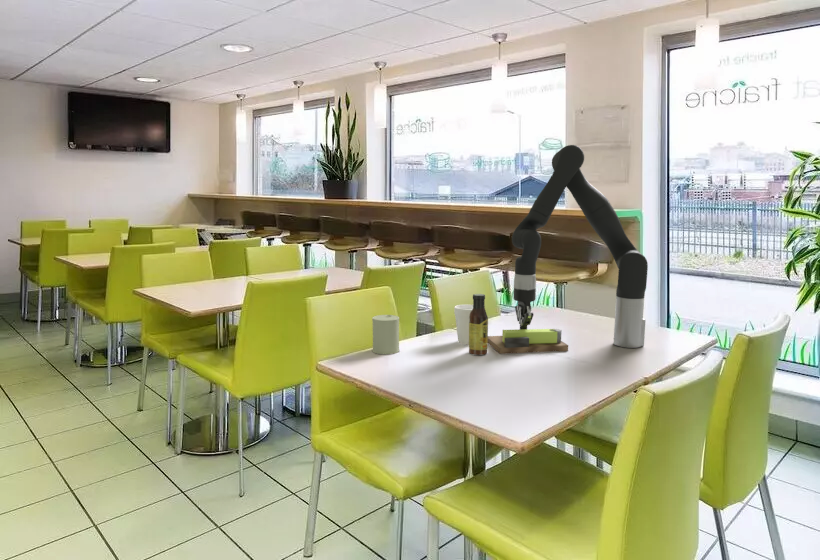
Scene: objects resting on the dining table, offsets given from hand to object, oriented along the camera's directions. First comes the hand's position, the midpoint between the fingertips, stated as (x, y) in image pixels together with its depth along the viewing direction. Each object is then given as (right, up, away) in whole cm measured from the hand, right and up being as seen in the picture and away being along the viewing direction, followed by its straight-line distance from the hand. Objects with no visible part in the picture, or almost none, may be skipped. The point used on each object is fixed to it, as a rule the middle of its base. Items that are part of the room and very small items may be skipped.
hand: (523, 335), depth 200 cm
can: (-48, -5, -6) cm, 49 cm away
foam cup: (-19, -3, +4) cm, 20 cm away
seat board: (+1, -4, 0) cm, 4 cm away
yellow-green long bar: (+2, -2, -4) cm, 5 cm away
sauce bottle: (-17, -5, -9) cm, 20 cm away
